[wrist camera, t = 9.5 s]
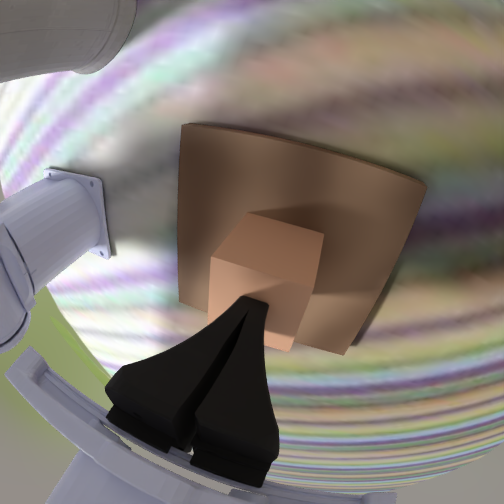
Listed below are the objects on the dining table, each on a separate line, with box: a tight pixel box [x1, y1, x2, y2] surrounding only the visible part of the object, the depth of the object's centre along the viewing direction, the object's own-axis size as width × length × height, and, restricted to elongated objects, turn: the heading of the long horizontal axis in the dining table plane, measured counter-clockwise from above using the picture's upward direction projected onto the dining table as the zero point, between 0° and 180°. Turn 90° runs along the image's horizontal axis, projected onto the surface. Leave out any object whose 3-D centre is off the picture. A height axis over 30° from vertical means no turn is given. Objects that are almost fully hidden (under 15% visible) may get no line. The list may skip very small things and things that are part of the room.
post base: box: [177, 123, 427, 355], centre depth 16 cm, size 14×14×5 cm
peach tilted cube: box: [208, 213, 324, 352], centre depth 15 cm, size 5×5×5 cm
